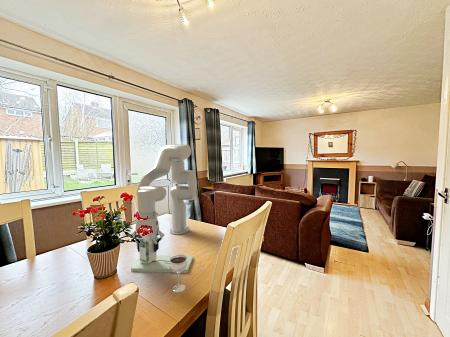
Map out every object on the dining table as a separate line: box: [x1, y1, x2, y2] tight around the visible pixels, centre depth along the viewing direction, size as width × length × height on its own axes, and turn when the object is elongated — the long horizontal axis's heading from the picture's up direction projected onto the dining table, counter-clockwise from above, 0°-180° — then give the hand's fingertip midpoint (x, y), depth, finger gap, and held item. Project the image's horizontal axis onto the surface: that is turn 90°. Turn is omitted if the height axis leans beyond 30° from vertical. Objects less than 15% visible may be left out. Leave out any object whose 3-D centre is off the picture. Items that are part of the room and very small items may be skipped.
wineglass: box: [170, 254, 187, 293], centre depth 77 cm, size 7×7×12 cm
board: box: [130, 254, 194, 274], centre depth 94 cm, size 12×26×2 cm, turn 87°
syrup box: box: [139, 234, 158, 264], centre depth 94 cm, size 6×6×14 cm
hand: (148, 250), depth 94 cm, fingers closed on syrup box, 7 cm apart
